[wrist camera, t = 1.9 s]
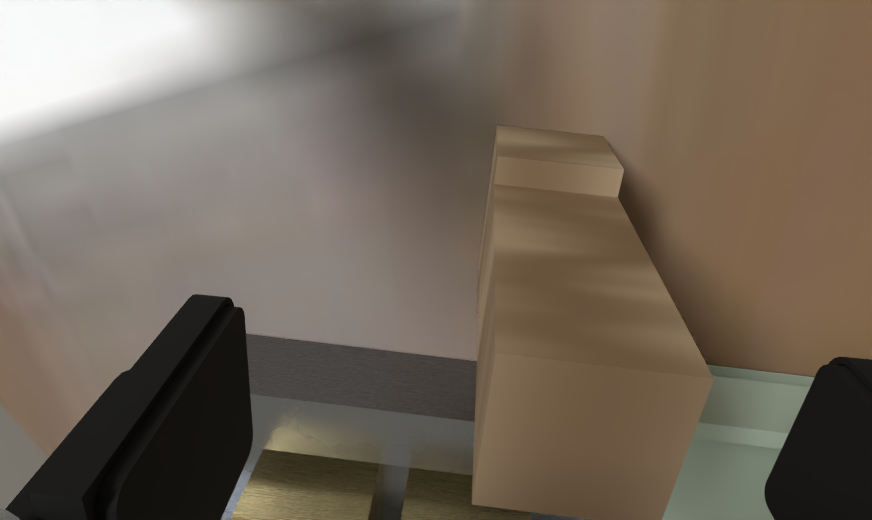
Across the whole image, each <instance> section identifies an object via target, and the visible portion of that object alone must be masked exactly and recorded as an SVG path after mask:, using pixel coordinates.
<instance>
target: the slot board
mask: <svg viewBox="0 0 872 520" xmlns="http://www.w3.org/2000/svg"><path fill="white" fill-rule="evenodd" d="M246 343H247V357H248V370H249V384H250V397H251V411H252V424H253V442H252V447H251V451H250V454H249V457H248V459H247V462H246V464H245V466H244V468H243V471H242V473H241V475H240V477H239V480H238V482H237V484H236V486H235V489H234V491H233V493H232V495H231V498H230V500H229V502H228V504H227V507H226V509H225V511H224V514H223V516H222V518H221V520H232V514H233V512H234V510H235V508H236V506H237V504H238V502H239V500H240V497H241V495H242V493H243V491H244V489H245V487H246V485H247V483H248V480H249V478H250V476H251V474H252V472H253V470H254V468H255V465H256V463H257V461H258V459H259V457H260V455H261V453H262V451H263V449H268V450H276V451H284V452H292V453H300V454H308V455H315V456H323V457H331V458H339V459H347V460H355V461H363V462H371V463H378V464H384V478H383V495H382V511H381V519H380V520H401V516H402V510H403V504H404V498H405V492H406V486H407V479H408V473H409V467H410V468H418V469H426V470H434V471H441V472H449V473H457V474H465V475H473V454H474V427H475V400H476V374H477V362H475V361H466V360H458V359H450V358H441V357H433V356H425V355H416V354H408V353H399V352H391V351H383V350H374V349H366V348H358V347H349V346H341V345H333V344H324V343H316V342H307V341H299V340H291V339H282V338H274V337H266V336H257V335H249V334H246ZM530 513H531V520H589V519H581V518H573V517H565V516H558V515H550V514H542V513H534V512H530Z"/></svg>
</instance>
